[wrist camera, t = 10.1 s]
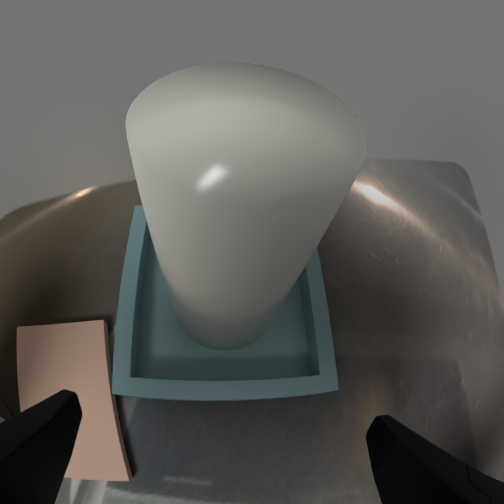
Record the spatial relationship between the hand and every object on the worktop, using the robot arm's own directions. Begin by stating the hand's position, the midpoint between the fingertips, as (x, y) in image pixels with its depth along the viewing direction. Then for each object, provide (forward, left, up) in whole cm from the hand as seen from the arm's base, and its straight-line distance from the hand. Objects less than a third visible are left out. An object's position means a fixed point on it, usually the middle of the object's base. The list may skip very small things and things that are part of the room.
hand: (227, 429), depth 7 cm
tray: (+7, 0, -9) cm, 11 cm away
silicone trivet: (0, +10, -9) cm, 13 cm away
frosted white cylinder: (+7, 0, -8) cm, 11 cm away
